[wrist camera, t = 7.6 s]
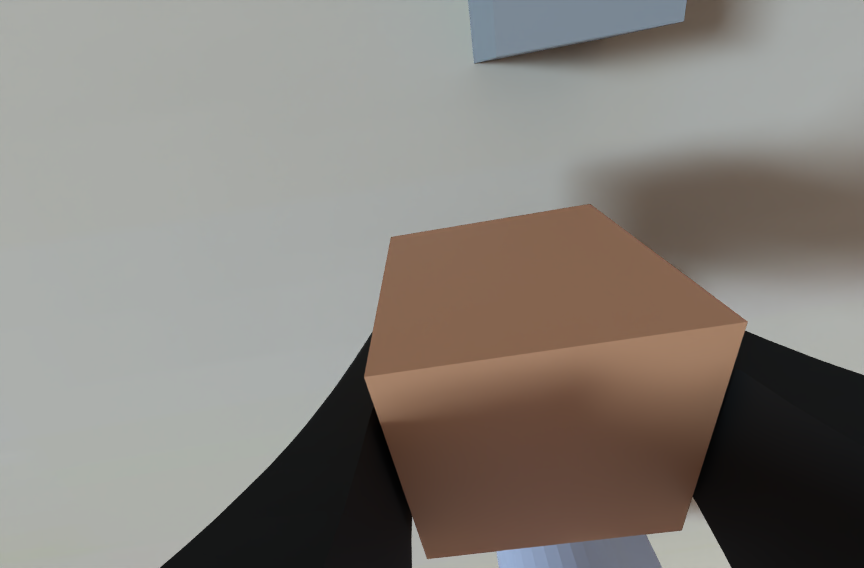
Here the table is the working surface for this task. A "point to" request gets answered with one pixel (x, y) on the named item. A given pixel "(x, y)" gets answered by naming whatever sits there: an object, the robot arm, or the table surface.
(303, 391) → the table surface
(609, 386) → the orange block
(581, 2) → the slate block
